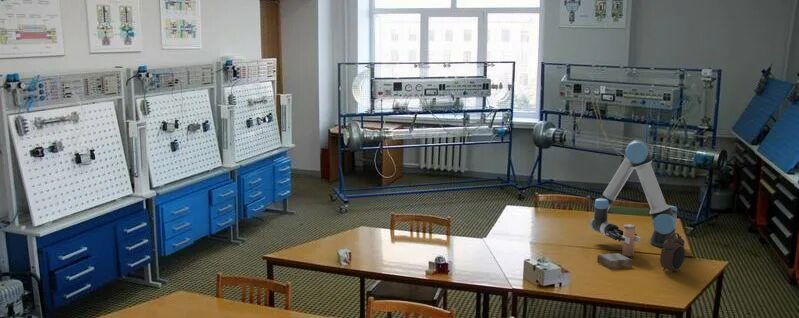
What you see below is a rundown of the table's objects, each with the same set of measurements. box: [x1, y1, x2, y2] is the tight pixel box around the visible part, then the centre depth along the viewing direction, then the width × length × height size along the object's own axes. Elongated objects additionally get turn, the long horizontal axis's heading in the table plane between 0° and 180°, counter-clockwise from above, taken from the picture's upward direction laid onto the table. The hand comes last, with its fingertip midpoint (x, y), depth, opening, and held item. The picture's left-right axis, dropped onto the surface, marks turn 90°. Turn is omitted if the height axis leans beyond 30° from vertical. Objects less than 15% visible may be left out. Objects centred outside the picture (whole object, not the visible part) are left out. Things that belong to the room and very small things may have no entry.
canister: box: [621, 223, 636, 257], centre depth 388 cm, size 6×6×16 cm
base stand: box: [596, 252, 633, 270], centre depth 375 cm, size 13×12×4 cm
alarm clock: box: [659, 232, 686, 275], centre depth 363 cm, size 15×7×20 cm, turn 129°
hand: (634, 240), depth 383 cm, fingers closed on canister, 6 cm apart
